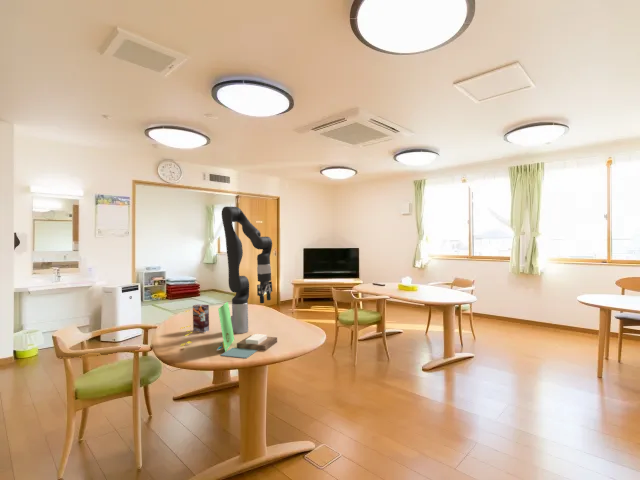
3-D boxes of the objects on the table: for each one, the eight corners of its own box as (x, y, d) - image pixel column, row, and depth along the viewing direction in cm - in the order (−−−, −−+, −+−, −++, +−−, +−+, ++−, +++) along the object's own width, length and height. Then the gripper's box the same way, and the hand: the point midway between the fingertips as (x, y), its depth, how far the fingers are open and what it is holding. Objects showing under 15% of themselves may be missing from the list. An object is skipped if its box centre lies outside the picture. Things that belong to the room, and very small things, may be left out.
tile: (245, 343, 168) (245, 339, 168) (255, 337, 178) (255, 333, 178) (258, 344, 166) (258, 340, 166) (267, 338, 176) (266, 334, 176)
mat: (220, 355, 158) (220, 355, 158) (232, 348, 169) (232, 347, 169) (246, 358, 154) (246, 357, 154) (257, 350, 164) (257, 349, 164)
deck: (237, 348, 169) (236, 343, 169) (250, 339, 182) (250, 335, 182) (265, 350, 164) (265, 345, 164) (277, 342, 177) (277, 337, 177)
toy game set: (189, 347, 182) (182, 304, 182) (235, 339, 183) (228, 296, 183) (174, 361, 160) (166, 313, 160) (226, 352, 162) (218, 303, 162)
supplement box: (192, 331, 200) (192, 305, 200) (198, 329, 205) (197, 303, 204) (204, 333, 197) (203, 306, 197) (209, 330, 201) (209, 304, 201)
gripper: (263, 271, 191) (264, 299, 191) (252, 274, 178) (253, 304, 178) (275, 271, 189) (276, 299, 189) (264, 273, 176) (266, 304, 176)
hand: (265, 301), depth 183 cm, fingers open, 8 cm apart
